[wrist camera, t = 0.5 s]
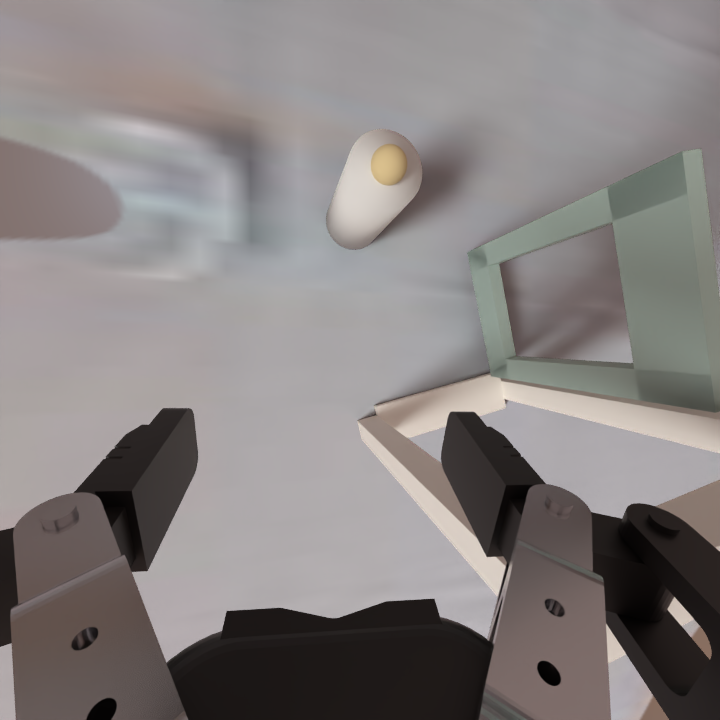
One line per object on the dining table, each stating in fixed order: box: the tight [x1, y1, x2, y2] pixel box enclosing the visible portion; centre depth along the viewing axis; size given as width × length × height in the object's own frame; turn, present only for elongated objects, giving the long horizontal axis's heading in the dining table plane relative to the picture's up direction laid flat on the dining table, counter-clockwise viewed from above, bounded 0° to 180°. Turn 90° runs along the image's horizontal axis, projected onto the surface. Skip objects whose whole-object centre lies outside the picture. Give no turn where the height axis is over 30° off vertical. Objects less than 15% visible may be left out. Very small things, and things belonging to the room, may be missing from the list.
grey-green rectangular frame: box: [467, 149, 720, 413], centre depth 28 cm, size 13×3×20 cm, turn 13°
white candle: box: [326, 129, 422, 250], centre depth 29 cm, size 5×5×13 cm
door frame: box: [357, 373, 720, 663], centre depth 25 cm, size 4×18×26 cm, turn 103°
